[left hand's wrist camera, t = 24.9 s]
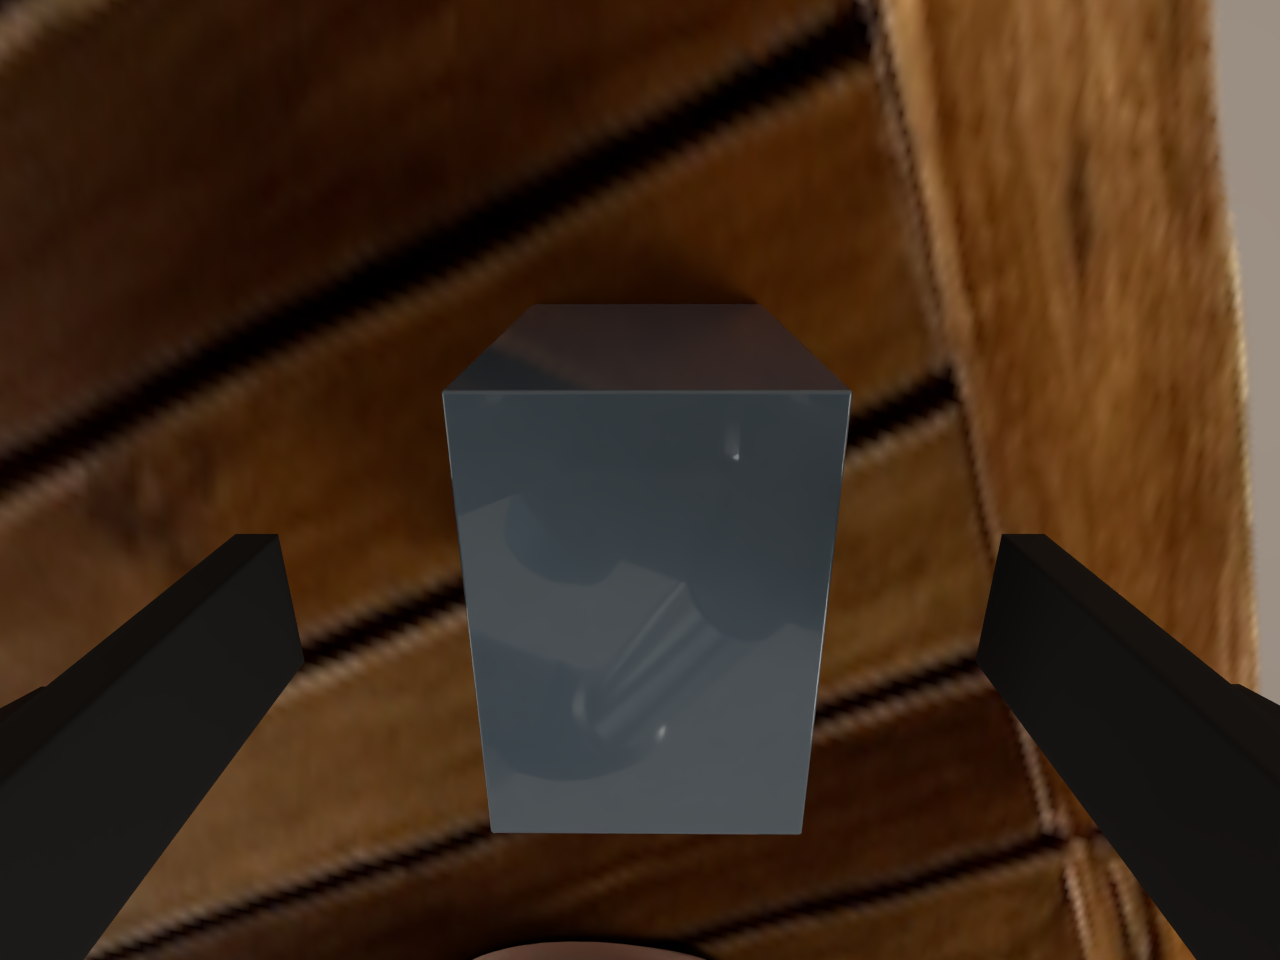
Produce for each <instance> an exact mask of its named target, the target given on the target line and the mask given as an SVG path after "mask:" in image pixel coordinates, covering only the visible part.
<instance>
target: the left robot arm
mask: <svg viewBox="0 0 1280 960" xmlns="http://www.w3.org/2000/svg"><path fill="white" fill-rule="evenodd" d="M303 663H304V657H303V652H302V647H301V642H300V638H299V633H298V628H297V623H296V618H295V614H294V609H293V604H292V599H291V594H290V590H289V585H288V580H287V575H286V570H285V566H284V561H283V556H282V551H281V546H280V542H279V537H278V534H235V535H234V536H233V537H231V538H230V539H229V540H228V541H227V542H225V543H224V544H223V545H222V546H220V547H219V548H218V549H217V550H215V551H214V552H213V553H212V554H210V555H209V556H208V557H207V558H205V559H204V560H203V561H202V562H200V563H199V564H198V565H197V566H195V567H194V568H193V569H192V570H190V571H189V572H188V573H187V574H185V575H184V576H183V577H182V578H181V579H179V580H178V581H177V582H176V583H174V584H173V585H172V586H171V587H169V588H168V589H167V590H166V591H164V592H163V593H162V594H161V595H159V596H158V597H157V598H156V599H154V600H153V601H152V602H151V603H149V604H148V605H147V606H146V607H144V608H143V609H142V610H141V611H139V612H138V613H137V614H136V615H135V616H133V617H132V618H131V619H130V620H128V621H127V622H126V623H125V624H123V625H122V626H121V627H120V628H118V629H117V630H116V631H115V632H113V633H112V634H111V635H110V636H108V637H107V638H106V639H105V640H103V641H102V642H101V643H100V644H98V645H97V646H96V647H95V648H93V649H92V650H91V651H90V652H89V653H87V654H86V655H85V656H84V657H82V658H81V659H80V660H79V661H77V662H76V663H75V664H74V665H72V666H71V667H70V668H69V669H67V670H66V671H65V672H64V673H62V674H61V675H60V676H59V677H57V678H56V679H55V680H54V681H52V682H51V683H50V684H49V685H47V686H46V687H40V688H38V689H36V690H34V691H32V692H30V693H29V694H27V695H25V696H23V697H21V698H19V699H17V700H15V701H13V702H12V703H10V704H8V705H6V706H4V707H2V708H0V960H84V958H85V957H86V956H87V954H88V953H89V952H90V950H91V949H92V948H93V946H94V945H95V943H96V942H97V941H98V939H99V938H100V937H101V935H102V934H103V933H104V931H105V930H106V929H107V927H108V926H109V925H110V923H111V922H112V921H113V919H114V918H115V916H116V915H117V914H118V912H119V911H120V910H121V908H122V907H123V906H124V904H125V903H126V902H127V900H128V899H129V898H130V896H131V895H132V894H133V892H134V891H135V890H136V888H137V887H138V885H139V884H140V883H141V881H142V880H143V879H144V877H145V876H146V875H147V873H148V872H149V871H150V869H151V868H152V867H153V865H154V864H155V863H156V861H157V860H158V858H159V857H160V856H161V854H162V853H163V852H164V850H165V849H166V848H167V846H168V845H169V844H170V842H171V841H172V840H173V838H174V837H175V836H176V834H177V833H178V832H179V830H180V829H181V827H182V826H183V825H184V823H185V822H186V821H187V819H188V818H189V817H190V815H191V814H192V813H193V811H194V810H195V809H196V807H197V806H198V805H199V803H200V802H201V800H202V799H203V798H204V796H205V795H206V794H207V792H208V791H209V790H210V788H211V787H212V786H213V784H214V783H215V782H216V780H217V779H218V778H219V776H220V775H221V773H222V772H223V771H224V769H225V768H226V767H227V765H228V764H229V763H230V761H231V760H232V759H233V757H234V756H235V755H236V753H237V752H238V751H239V749H240V748H241V747H242V745H243V744H244V742H245V741H246V740H247V738H248V737H249V736H250V734H251V733H252V732H253V730H254V729H255V728H256V726H257V725H258V724H259V722H260V721H261V720H262V718H263V717H264V715H265V714H266V713H267V711H268V710H269V709H270V707H271V706H272V705H273V703H274V702H275V701H276V699H277V698H278V697H279V695H280V694H281V693H282V691H283V690H284V688H285V687H286V686H287V684H288V683H289V682H290V680H291V679H292V678H293V676H294V675H295V674H296V672H297V671H298V670H299V668H300V667H301V666H302V664H303ZM976 663H977V664H978V666H979V667H980V668H981V670H982V671H983V672H984V674H985V675H986V676H987V678H988V679H989V680H990V682H991V683H992V684H993V686H994V687H995V688H996V690H997V691H998V693H999V694H1000V695H1001V697H1002V698H1003V699H1004V701H1005V702H1006V703H1007V705H1008V706H1009V707H1010V709H1011V710H1012V711H1013V713H1014V714H1015V715H1016V717H1017V718H1018V720H1019V721H1020V722H1021V724H1022V725H1023V726H1024V728H1025V729H1026V730H1027V732H1028V733H1029V734H1030V736H1031V737H1032V738H1033V740H1034V741H1035V742H1036V744H1037V745H1038V747H1039V748H1040V749H1041V751H1042V752H1043V753H1044V755H1045V756H1046V757H1047V759H1048V760H1049V761H1050V763H1051V764H1052V765H1053V767H1054V768H1055V769H1056V771H1057V772H1058V773H1059V775H1060V776H1061V778H1062V779H1063V780H1064V782H1065V783H1066V784H1067V786H1068V787H1069V788H1070V790H1071V791H1072V792H1073V794H1074V795H1075V796H1076V798H1077V799H1078V800H1079V802H1080V803H1081V805H1082V806H1083V807H1084V809H1085V810H1086V811H1087V813H1088V814H1089V815H1090V817H1091V818H1092V819H1093V821H1094V822H1095V823H1096V825H1097V826H1098V827H1099V829H1100V830H1101V832H1102V833H1103V834H1104V836H1105V837H1106V838H1107V840H1108V841H1109V842H1110V844H1111V845H1112V846H1113V848H1114V849H1115V850H1116V852H1117V853H1118V854H1119V856H1120V857H1121V858H1122V860H1123V861H1124V863H1125V864H1126V865H1127V867H1128V868H1129V869H1130V871H1131V872H1132V873H1133V875H1134V876H1135V877H1136V879H1137V880H1138V881H1139V883H1140V884H1141V885H1142V887H1143V888H1144V890H1145V891H1146V892H1147V894H1148V895H1149V896H1150V898H1151V899H1152V900H1153V902H1154V903H1155V904H1156V906H1157V907H1158V908H1159V910H1160V911H1161V912H1162V914H1163V915H1164V917H1165V918H1166V919H1167V921H1168V922H1169V923H1170V925H1171V926H1172V927H1173V929H1174V930H1175V931H1176V933H1177V934H1178V935H1179V937H1180V938H1181V939H1182V941H1183V942H1184V943H1185V945H1186V946H1187V948H1188V949H1189V950H1190V952H1191V953H1192V954H1193V956H1194V957H1195V958H1196V960H1280V705H1278V704H1276V703H1274V702H1272V701H1270V700H1268V699H1267V698H1265V697H1263V696H1261V695H1259V694H1257V693H1255V692H1253V691H1251V690H1249V689H1248V688H1246V687H1244V686H1242V685H1240V684H1230V683H1229V682H1228V681H1226V680H1225V679H1224V678H1223V677H1221V676H1220V675H1219V674H1218V673H1216V672H1215V671H1214V670H1213V669H1211V668H1210V667H1209V666H1208V665H1206V664H1205V663H1204V662H1203V661H1201V660H1200V659H1199V658H1198V657H1196V656H1195V655H1194V654H1193V653H1191V652H1190V651H1189V650H1188V649H1187V648H1185V647H1184V646H1183V645H1182V644H1180V643H1179V642H1178V641H1177V640H1175V639H1174V638H1173V637H1172V636H1170V635H1169V634H1168V633H1167V632H1165V631H1164V630H1163V629H1162V628H1160V627H1159V626H1158V625H1157V624H1155V623H1154V622H1153V621H1152V620H1150V619H1149V618H1148V617H1147V616H1145V615H1144V614H1143V613H1142V612H1141V611H1139V610H1138V609H1137V608H1136V607H1134V606H1133V605H1132V604H1131V603H1129V602H1128V601H1127V600H1126V599H1124V598H1123V597H1122V596H1121V595H1119V594H1118V593H1117V592H1116V591H1114V590H1113V589H1112V588H1111V587H1109V586H1108V585H1107V584H1106V583H1104V582H1103V581H1102V580H1101V579H1099V578H1098V577H1097V576H1096V575H1095V574H1093V573H1092V572H1091V571H1090V570H1088V569H1087V568H1086V567H1085V566H1083V565H1082V564H1081V563H1080V562H1078V561H1077V560H1076V559H1075V558H1073V557H1072V556H1071V555H1070V554H1068V553H1067V552H1066V551H1065V550H1063V549H1062V548H1061V547H1060V546H1058V545H1057V544H1056V543H1055V542H1053V541H1052V540H1051V539H1050V538H1049V537H1047V536H1046V535H1045V534H1002V537H1001V542H1000V546H999V551H998V556H997V561H996V566H995V570H994V575H993V580H992V585H991V590H990V594H989V599H988V604H987V609H986V614H985V618H984V623H983V628H982V633H981V638H980V642H979V647H978V652H977V657H976Z"/></svg>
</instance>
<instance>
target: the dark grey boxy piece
mask: <svg viewBox="0 0 1280 960" xmlns="http://www.w3.org/2000/svg"><path fill="white" fill-rule="evenodd" d="M442 401H443V410H444V419H445V428H446V436H447V445H448V454H449V463H450V472H451V481H452V489H453V498H454V507H455V516H456V525H457V534H458V542H459V551H460V560H461V569H462V578H463V587H464V596H465V604H466V613H467V622H468V631H469V640H470V649H471V657H472V666H473V675H474V684H475V693H476V702H477V710H478V719H479V728H480V737H481V746H482V755H483V763H484V772H485V781H486V790H487V799H488V808H489V817H490V825H491V831H492V832H493V833H629V834H801V832H802V824H803V816H804V807H805V798H806V790H807V781H808V773H809V764H810V755H811V747H812V738H813V729H814V721H815V712H816V703H817V695H818V686H819V678H820V669H821V660H822V652H823V643H824V634H825V626H826V617H827V608H828V600H829V591H830V583H831V574H832V565H833V557H834V548H835V539H836V531H837V522H838V513H839V505H840V496H841V488H842V479H843V470H844V462H845V453H846V444H847V436H848V427H849V418H850V410H851V401H852V391H851V390H850V389H849V388H848V387H847V386H846V385H845V384H844V383H843V382H842V381H841V380H840V379H839V378H838V377H837V376H836V375H835V374H834V373H832V372H831V371H830V370H829V369H828V368H827V367H826V366H825V365H824V364H823V363H822V362H821V361H820V360H819V359H818V358H817V357H816V356H815V355H814V354H813V353H811V352H810V351H809V350H808V349H807V348H806V347H805V346H804V345H803V344H802V343H801V342H800V341H799V340H798V339H797V338H796V337H795V336H794V335H793V334H792V333H790V332H789V331H788V330H787V329H786V328H785V327H784V326H783V325H782V324H781V323H780V322H779V321H778V320H777V319H776V318H775V317H774V316H773V315H772V314H771V313H769V312H768V311H767V310H766V309H765V308H764V307H763V306H762V305H761V304H533V305H531V306H530V307H529V308H528V309H527V310H526V311H525V312H524V313H523V314H522V315H521V316H520V317H519V318H518V319H517V320H516V321H515V322H514V323H513V324H512V325H511V326H510V327H508V328H507V329H506V330H505V331H504V332H503V333H502V334H501V335H500V336H499V337H498V338H497V339H496V340H495V341H494V342H493V343H492V344H491V345H490V346H489V347H488V348H487V349H486V350H484V351H483V352H482V353H481V354H480V355H479V356H478V357H477V358H476V359H475V360H474V361H473V362H472V363H471V364H470V365H469V366H468V367H467V368H466V369H465V370H464V371H463V372H462V373H461V374H459V375H458V376H457V377H456V378H455V379H454V380H453V381H452V382H451V383H450V384H449V385H448V386H447V387H446V388H445V389H444V390H443V391H442Z"/></svg>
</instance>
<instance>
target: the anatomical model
mask: <svg viewBox="0 0 1280 960" xmlns="http://www.w3.org/2000/svg"><path fill="white" fill-rule="evenodd" d="M473 960H706V959H703V958H700V957H697V956H693V955H690V954H685V953H680V952H675V951H670V950H664V949H657V948H650V947H642V946H634V945H626V944H615V943H603V942H570V941H569V942H546V943H537V944H529V945H522V946H516V947H511V948H506V949H502V950H499V951H495V952H491V953H488V954H485V955H483V956H480V957H478V958H475V959H473Z"/></svg>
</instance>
